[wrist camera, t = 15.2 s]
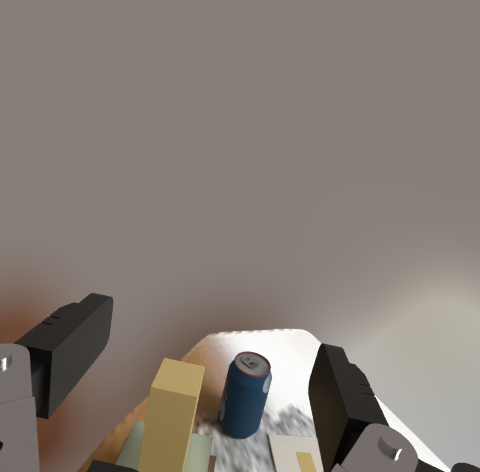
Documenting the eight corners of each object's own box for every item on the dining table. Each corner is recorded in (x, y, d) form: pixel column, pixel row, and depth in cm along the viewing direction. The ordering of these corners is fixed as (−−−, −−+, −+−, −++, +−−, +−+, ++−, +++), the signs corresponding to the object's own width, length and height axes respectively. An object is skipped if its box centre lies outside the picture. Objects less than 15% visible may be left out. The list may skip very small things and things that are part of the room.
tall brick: (187, 452, 38) (205, 366, 35) (177, 491, 34) (197, 397, 31) (150, 444, 38) (164, 357, 35) (135, 482, 34) (150, 386, 31)
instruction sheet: (358, 442, 55) (359, 440, 55) (395, 513, 44) (396, 511, 44) (268, 435, 52) (268, 434, 52) (284, 509, 42) (285, 507, 42)
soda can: (266, 429, 54) (283, 368, 51) (236, 451, 49) (253, 385, 46) (237, 401, 58) (251, 344, 55) (208, 419, 53) (221, 357, 50)
